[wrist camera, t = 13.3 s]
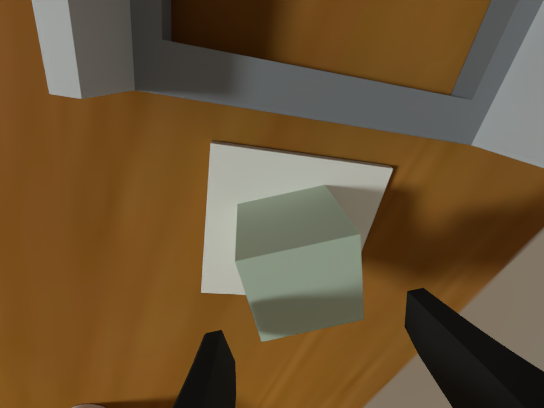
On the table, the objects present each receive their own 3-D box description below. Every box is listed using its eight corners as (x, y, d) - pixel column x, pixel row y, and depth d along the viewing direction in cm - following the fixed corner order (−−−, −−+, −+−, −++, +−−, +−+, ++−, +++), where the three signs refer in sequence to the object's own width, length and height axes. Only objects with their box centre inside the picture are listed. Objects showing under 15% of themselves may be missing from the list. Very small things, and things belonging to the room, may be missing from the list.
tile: (388, 165, 15) (393, 168, 15) (340, 293, 19) (342, 299, 19) (211, 140, 13) (210, 143, 13) (202, 285, 18) (201, 292, 17)
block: (324, 184, 15) (360, 234, 10) (332, 254, 17) (363, 319, 12) (237, 203, 15) (235, 261, 10) (256, 271, 17) (261, 341, 12)
